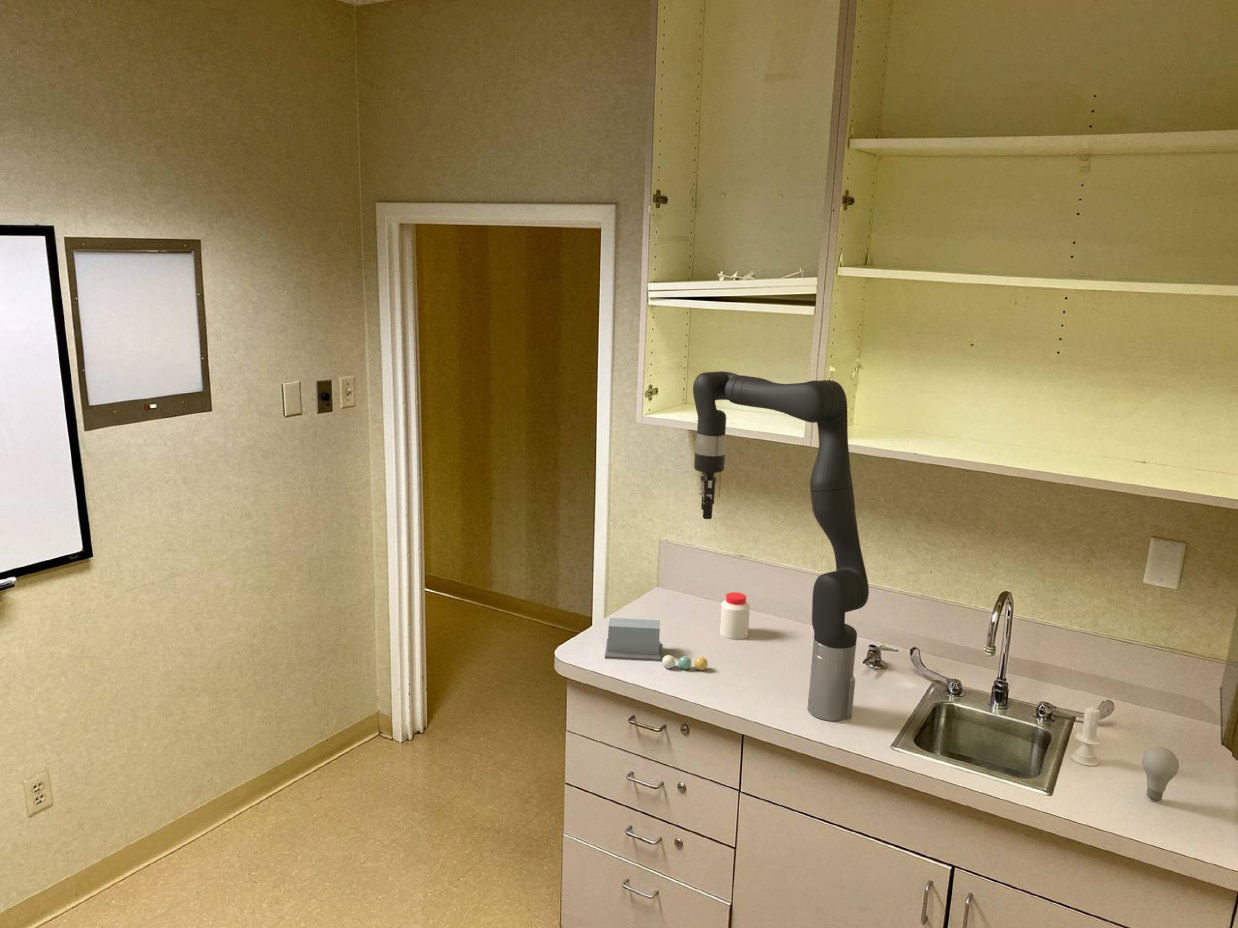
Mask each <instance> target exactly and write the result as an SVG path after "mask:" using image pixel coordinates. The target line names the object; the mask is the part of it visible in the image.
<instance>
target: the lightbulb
mask: <svg viewBox="0 0 1238 928" xmlns="http://www.w3.org/2000/svg"><path fill="white" fill-rule="evenodd" d="M1141 765H1142V768H1143V770H1144V772H1145V776H1146V787H1147V788H1146V797H1147V798H1148V799H1150V800H1151V801H1152V802H1159V801H1161V800H1162V799H1163V796H1164V795H1163V794H1164V792H1165V791H1166V789H1167V786H1168V784H1169V782H1170V781H1171V780H1172V779H1173V778H1174V777H1176V775H1177V774H1178V772H1179V770H1180V762H1179V759H1178V757H1177V755H1175V753H1174V752H1173V751H1171V750H1170V749H1168V748H1166V747H1164V746H1158V745H1157V746H1152V747H1150V748H1148V749H1146V750H1145V751H1144V752H1143V754H1142V756H1141Z"/></svg>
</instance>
